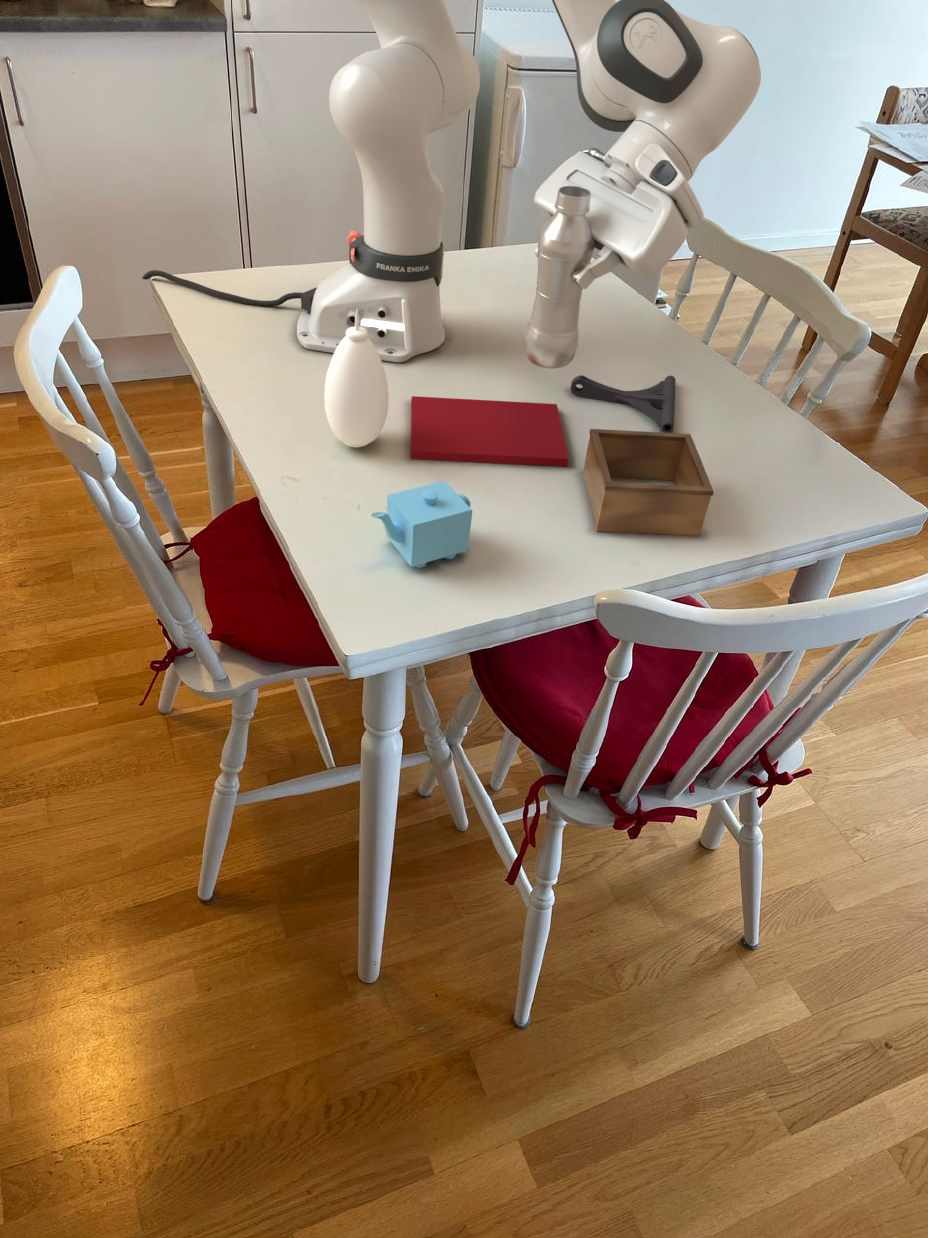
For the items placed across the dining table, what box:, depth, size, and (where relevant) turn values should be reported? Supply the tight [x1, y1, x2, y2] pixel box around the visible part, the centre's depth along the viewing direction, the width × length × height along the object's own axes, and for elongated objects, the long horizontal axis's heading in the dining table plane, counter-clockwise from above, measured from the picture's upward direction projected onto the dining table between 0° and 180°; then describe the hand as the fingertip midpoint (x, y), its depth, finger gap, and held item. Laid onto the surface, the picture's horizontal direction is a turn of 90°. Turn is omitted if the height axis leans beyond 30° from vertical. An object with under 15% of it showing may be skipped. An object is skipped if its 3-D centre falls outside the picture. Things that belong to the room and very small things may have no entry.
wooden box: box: [582, 428, 715, 537], centre depth 116 cm, size 13×13×6 cm
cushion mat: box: [410, 395, 569, 467], centre depth 127 cm, size 20×14×1 cm
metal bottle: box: [523, 186, 595, 369], centre depth 110 cm, size 6×7×20 cm
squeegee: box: [570, 374, 677, 433], centre depth 136 cm, size 14×15×3 cm
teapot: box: [370, 480, 473, 569], centre depth 104 cm, size 12×6×8 cm, turn 120°
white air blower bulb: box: [323, 309, 389, 448], centre depth 117 cm, size 8×8×18 cm
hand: (558, 271), depth 109 cm, fingers closed on metal bottle, 6 cm apart
